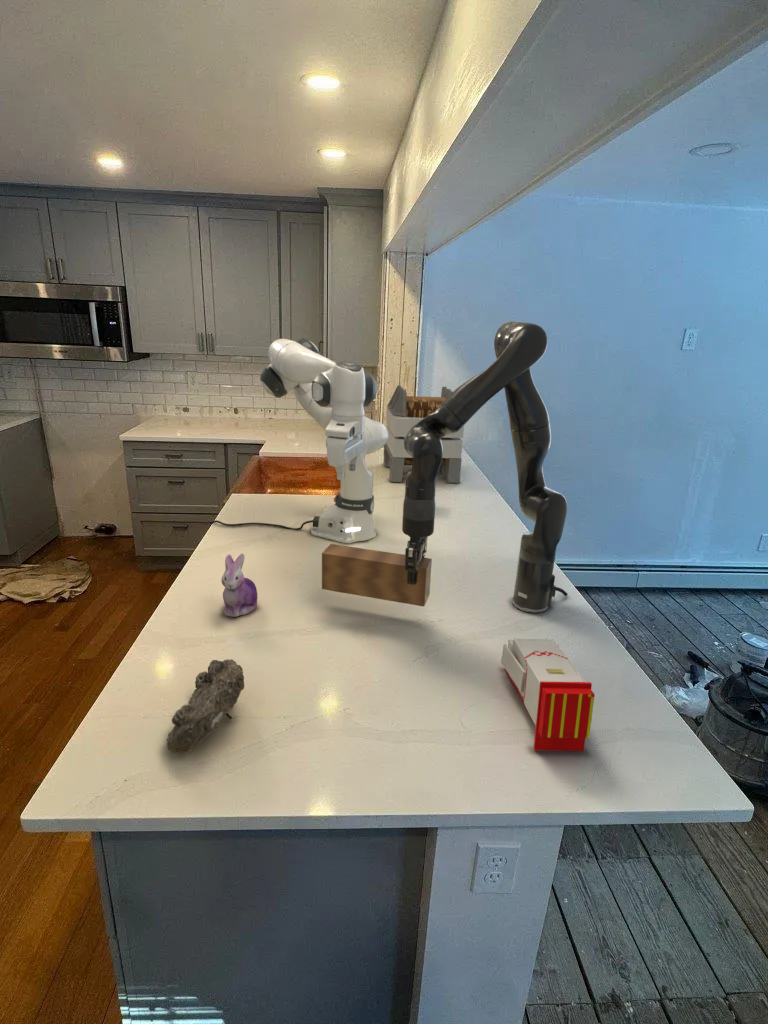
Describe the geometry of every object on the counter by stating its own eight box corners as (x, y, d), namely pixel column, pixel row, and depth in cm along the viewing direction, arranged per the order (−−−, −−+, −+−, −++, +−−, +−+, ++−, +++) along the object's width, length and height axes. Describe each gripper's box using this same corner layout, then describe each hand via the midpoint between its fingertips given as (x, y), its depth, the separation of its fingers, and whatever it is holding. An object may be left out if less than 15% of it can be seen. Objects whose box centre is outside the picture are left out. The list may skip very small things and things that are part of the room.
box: (321, 589, 144) (321, 553, 140) (330, 578, 150) (330, 543, 146) (424, 606, 137) (426, 569, 134) (429, 595, 143) (431, 558, 140)
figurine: (226, 621, 140) (223, 566, 135) (217, 603, 148) (214, 550, 143) (264, 614, 144) (262, 560, 139) (253, 596, 153) (251, 545, 148)
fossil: (192, 660, 117) (244, 628, 112) (224, 691, 120) (276, 661, 115) (142, 746, 98) (202, 712, 93) (182, 779, 101) (242, 748, 96)
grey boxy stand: (382, 463, 289) (386, 382, 275) (445, 464, 293) (451, 384, 279) (390, 482, 257) (394, 392, 243) (460, 483, 261) (468, 394, 247)
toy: (549, 621, 128) (604, 690, 99) (544, 676, 131) (595, 758, 101) (496, 620, 128) (535, 688, 98) (492, 675, 130) (528, 757, 101)
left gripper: (349, 417, 161) (348, 464, 166) (322, 430, 143) (322, 483, 147) (370, 419, 160) (369, 466, 164) (346, 433, 141) (345, 486, 146)
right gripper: (428, 526, 126) (423, 593, 132) (440, 506, 139) (435, 568, 145) (395, 522, 128) (392, 588, 134) (410, 502, 141) (407, 563, 147)
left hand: (346, 474), depth 156 cm, fingers open, 8 cm apart
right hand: (415, 577), depth 139 cm, fingers closed on box, 6 cm apart
